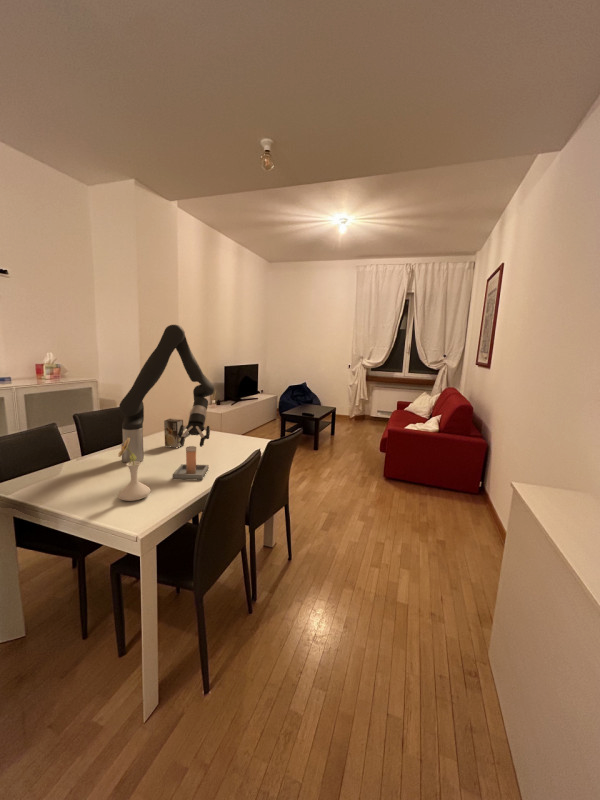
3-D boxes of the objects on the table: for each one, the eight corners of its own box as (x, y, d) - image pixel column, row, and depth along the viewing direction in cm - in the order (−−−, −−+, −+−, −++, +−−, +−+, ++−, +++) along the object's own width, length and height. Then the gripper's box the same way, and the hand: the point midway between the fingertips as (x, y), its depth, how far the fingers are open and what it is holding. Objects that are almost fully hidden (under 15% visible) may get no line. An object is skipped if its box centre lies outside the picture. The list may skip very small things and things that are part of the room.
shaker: (184, 474, 151) (184, 449, 150) (187, 470, 156) (187, 446, 154) (194, 474, 152) (194, 449, 150) (197, 471, 156) (197, 446, 154)
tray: (172, 479, 147) (172, 474, 147) (181, 469, 160) (181, 464, 160) (202, 480, 148) (202, 474, 147) (208, 469, 161) (208, 464, 160)
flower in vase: (126, 490, 134) (123, 431, 130) (154, 491, 135) (153, 432, 131) (110, 505, 121) (107, 440, 118) (142, 506, 122) (139, 441, 118)
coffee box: (184, 445, 197) (183, 419, 195) (178, 448, 191) (177, 421, 189) (170, 444, 199) (170, 418, 197) (164, 447, 193) (163, 420, 191)
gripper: (181, 411, 159) (173, 441, 149) (211, 412, 159) (205, 442, 150) (185, 420, 165) (177, 449, 155) (213, 421, 166) (208, 450, 156)
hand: (191, 445), depth 153 cm, fingers open, 8 cm apart
